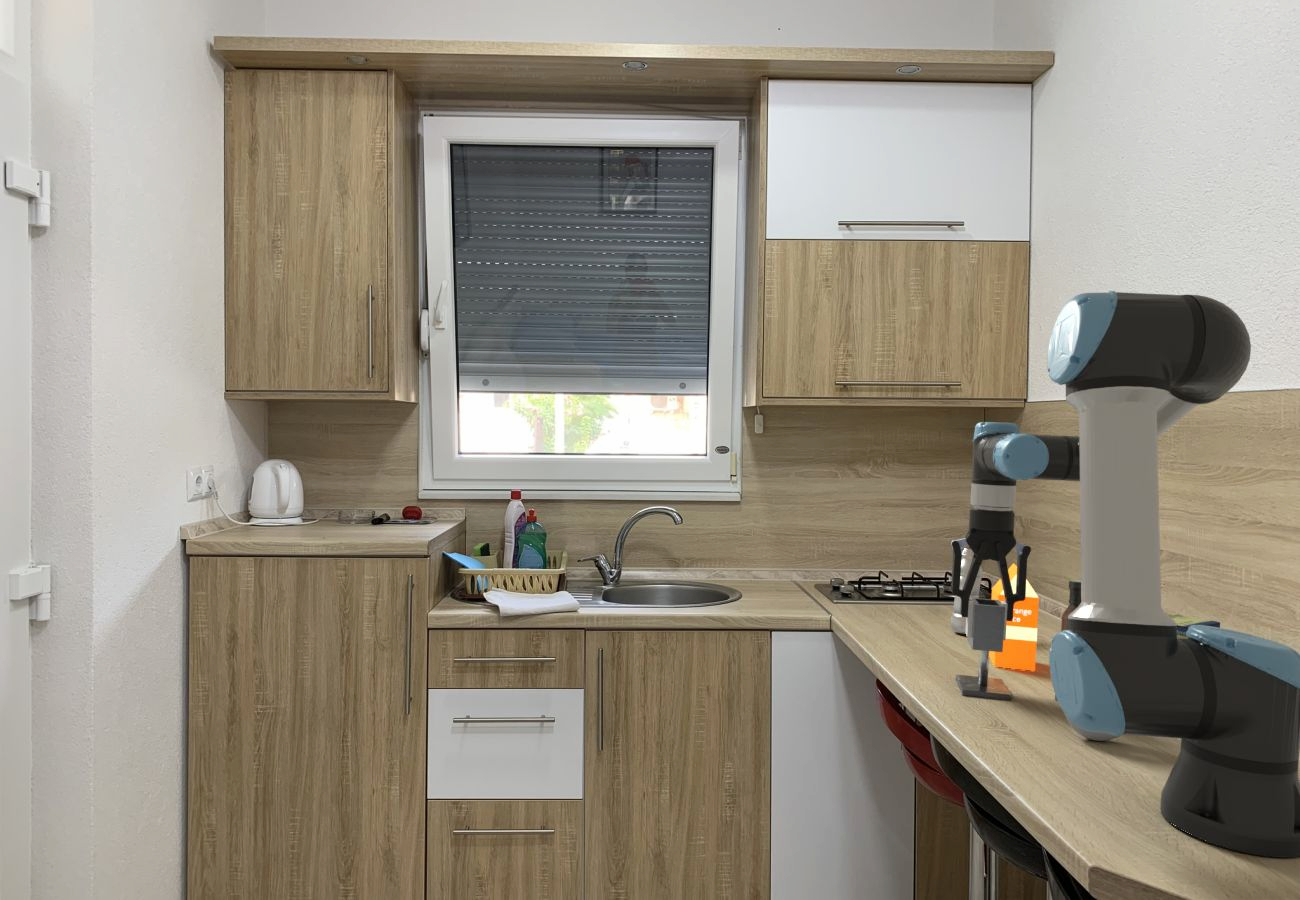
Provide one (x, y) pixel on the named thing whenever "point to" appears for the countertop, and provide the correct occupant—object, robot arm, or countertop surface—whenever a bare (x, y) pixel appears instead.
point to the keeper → (983, 682)
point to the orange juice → (1018, 628)
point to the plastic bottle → (956, 619)
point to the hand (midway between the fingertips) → (985, 636)
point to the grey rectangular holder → (987, 625)
